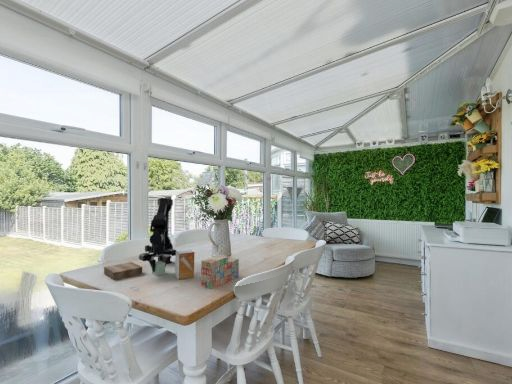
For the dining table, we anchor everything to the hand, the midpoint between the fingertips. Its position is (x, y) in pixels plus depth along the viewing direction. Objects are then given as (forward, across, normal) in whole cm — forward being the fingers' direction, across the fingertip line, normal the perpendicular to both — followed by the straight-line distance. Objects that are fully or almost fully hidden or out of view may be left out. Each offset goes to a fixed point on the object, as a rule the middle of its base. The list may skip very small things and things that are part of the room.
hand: (158, 270), depth 137 cm
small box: (+2, -7, +14) cm, 16 cm away
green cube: (+2, 0, 0) cm, 2 cm away
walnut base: (+2, +13, -13) cm, 18 cm away
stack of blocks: (+2, -16, +32) cm, 36 cm away
